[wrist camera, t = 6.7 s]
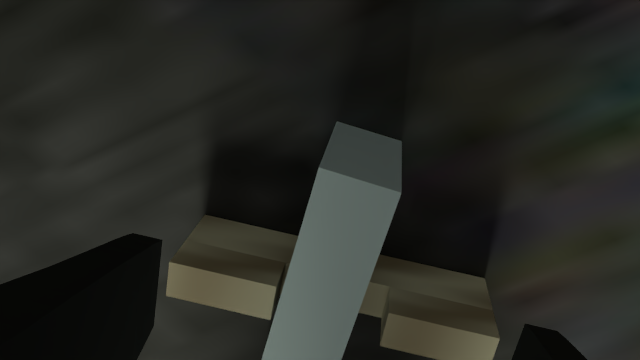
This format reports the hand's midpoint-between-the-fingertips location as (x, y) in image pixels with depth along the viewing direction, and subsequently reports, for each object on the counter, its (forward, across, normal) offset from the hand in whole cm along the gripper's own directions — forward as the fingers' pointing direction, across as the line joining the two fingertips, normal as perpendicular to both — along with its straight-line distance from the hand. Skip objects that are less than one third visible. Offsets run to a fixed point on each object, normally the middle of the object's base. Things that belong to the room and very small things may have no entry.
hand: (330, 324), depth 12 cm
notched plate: (+9, 0, +4) cm, 10 cm away
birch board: (+9, 0, +4) cm, 10 cm away
